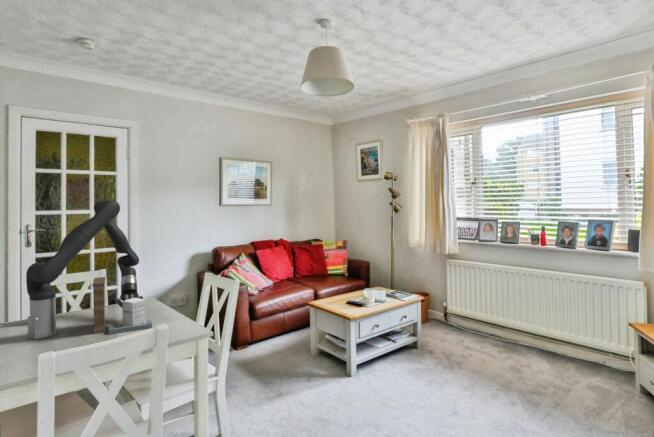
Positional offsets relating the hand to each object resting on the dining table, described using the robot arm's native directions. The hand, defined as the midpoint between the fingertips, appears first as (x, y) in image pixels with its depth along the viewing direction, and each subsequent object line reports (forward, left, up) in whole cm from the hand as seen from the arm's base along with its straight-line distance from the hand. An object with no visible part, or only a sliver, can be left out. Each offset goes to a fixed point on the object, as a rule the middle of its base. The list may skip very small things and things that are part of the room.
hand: (130, 314), depth 180 cm
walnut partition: (-11, +6, -4) cm, 14 cm away
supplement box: (-1, -4, -4) cm, 7 cm away
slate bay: (-6, -8, -4) cm, 11 cm away
